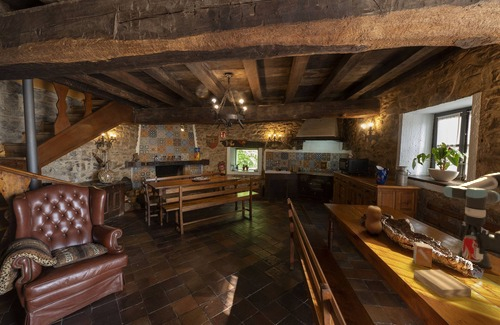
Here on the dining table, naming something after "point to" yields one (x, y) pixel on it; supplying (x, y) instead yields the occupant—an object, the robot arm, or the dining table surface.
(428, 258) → the small box
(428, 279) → the square wooden board
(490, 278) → the dining table surface
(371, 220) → the butternut squash
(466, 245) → the soda can
